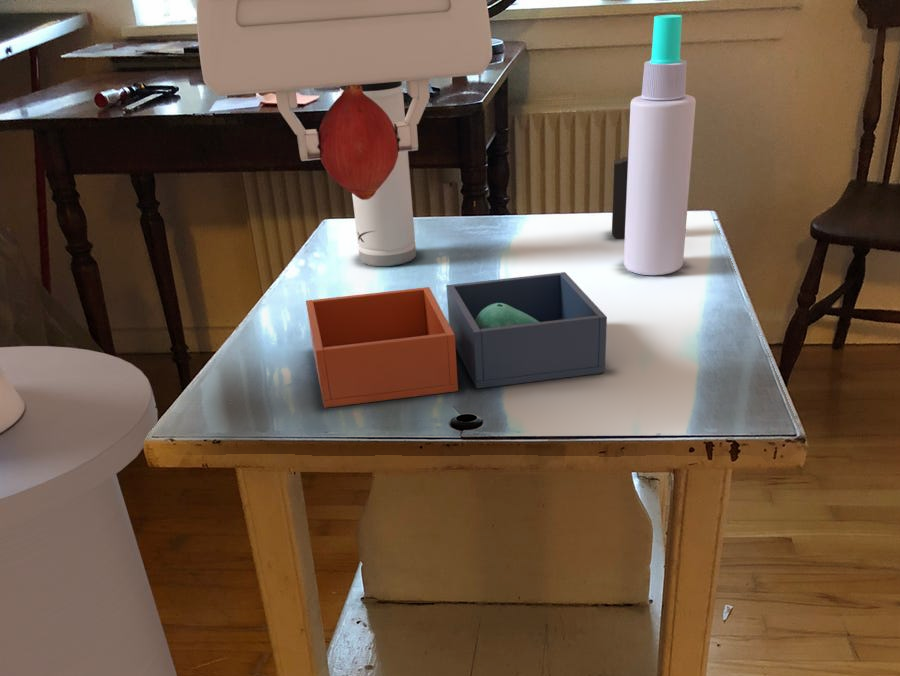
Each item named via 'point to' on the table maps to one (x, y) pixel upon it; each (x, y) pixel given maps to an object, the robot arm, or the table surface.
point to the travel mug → (387, 196)
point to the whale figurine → (502, 316)
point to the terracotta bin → (381, 347)
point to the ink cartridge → (619, 197)
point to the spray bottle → (659, 158)
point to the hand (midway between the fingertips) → (358, 154)
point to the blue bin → (528, 330)
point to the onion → (358, 143)
